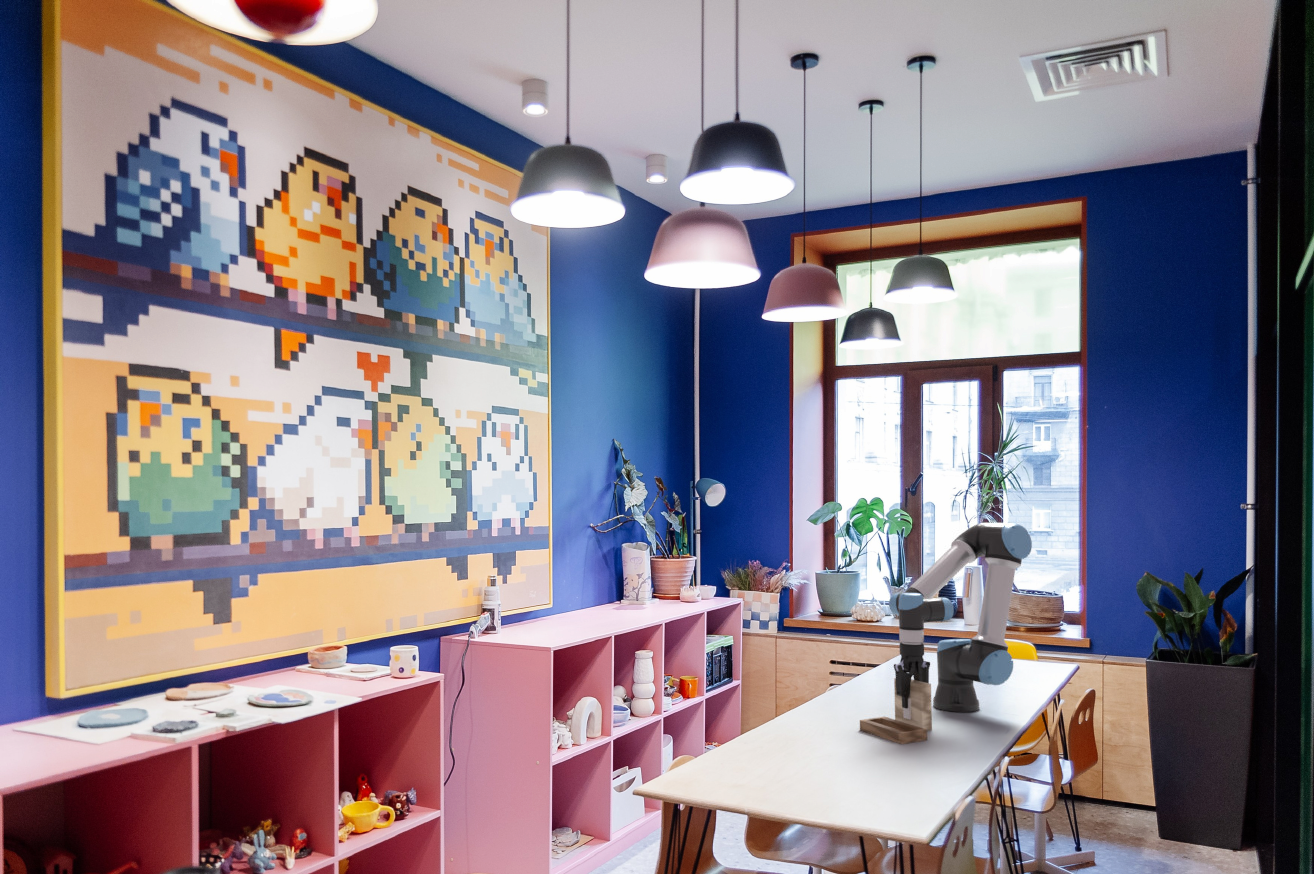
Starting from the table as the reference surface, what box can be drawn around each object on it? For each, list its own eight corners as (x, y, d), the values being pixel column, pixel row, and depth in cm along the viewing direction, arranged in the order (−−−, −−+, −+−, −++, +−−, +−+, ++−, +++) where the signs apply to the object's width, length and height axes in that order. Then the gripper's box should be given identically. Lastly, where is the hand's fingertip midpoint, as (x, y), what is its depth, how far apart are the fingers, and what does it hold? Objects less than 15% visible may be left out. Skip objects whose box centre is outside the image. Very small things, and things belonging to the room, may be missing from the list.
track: (884, 726, 288) (884, 716, 288) (927, 739, 271) (927, 729, 272) (859, 729, 283) (859, 720, 283) (901, 744, 267) (901, 733, 267)
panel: (904, 721, 294) (904, 677, 295) (932, 729, 283) (931, 683, 284) (894, 722, 292) (894, 678, 293) (922, 731, 281) (921, 685, 282)
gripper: (923, 638, 297) (924, 712, 295) (882, 642, 289) (884, 718, 287) (940, 642, 290) (941, 717, 288) (899, 646, 282) (900, 723, 280)
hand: (913, 717), depth 288 cm, fingers closed on panel, 4 cm apart
